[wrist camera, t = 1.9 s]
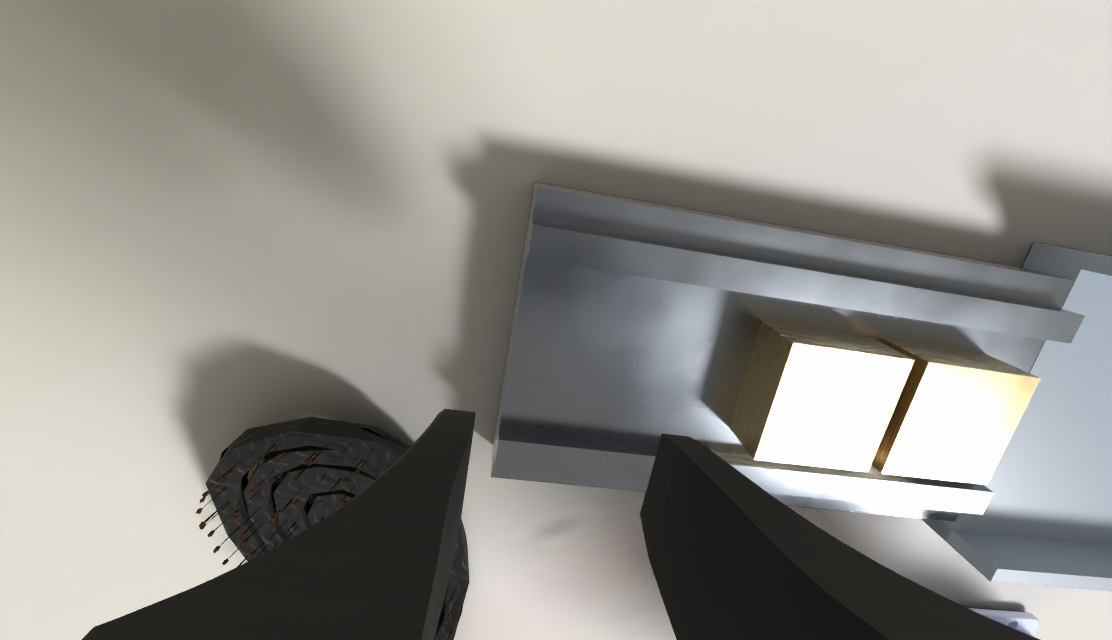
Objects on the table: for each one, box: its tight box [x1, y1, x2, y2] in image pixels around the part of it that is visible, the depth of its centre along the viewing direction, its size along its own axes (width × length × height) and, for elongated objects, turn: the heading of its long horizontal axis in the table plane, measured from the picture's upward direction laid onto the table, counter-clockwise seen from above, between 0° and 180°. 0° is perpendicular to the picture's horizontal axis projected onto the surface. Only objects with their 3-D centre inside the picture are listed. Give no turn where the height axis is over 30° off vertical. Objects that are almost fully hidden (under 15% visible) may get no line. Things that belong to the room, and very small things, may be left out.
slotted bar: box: [491, 182, 1085, 522], centre depth 18 cm, size 18×10×3 cm, turn 80°
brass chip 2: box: [871, 339, 1041, 485], centre depth 18 cm, size 4×4×2 cm
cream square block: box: [729, 321, 914, 472], centre depth 17 cm, size 4×4×2 cm
